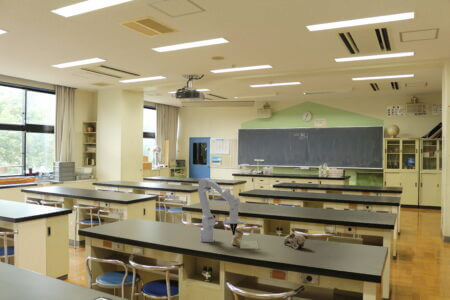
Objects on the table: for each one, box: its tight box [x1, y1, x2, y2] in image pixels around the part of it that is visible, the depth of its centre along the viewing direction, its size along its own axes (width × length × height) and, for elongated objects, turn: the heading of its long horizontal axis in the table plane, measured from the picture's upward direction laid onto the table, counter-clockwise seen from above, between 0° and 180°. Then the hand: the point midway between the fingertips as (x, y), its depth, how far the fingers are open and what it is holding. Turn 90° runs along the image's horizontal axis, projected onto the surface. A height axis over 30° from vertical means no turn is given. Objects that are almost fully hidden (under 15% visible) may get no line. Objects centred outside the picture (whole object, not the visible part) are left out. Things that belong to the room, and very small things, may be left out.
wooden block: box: [231, 228, 244, 247], centre depth 235 cm, size 5×8×9 cm, turn 0°
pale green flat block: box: [239, 239, 260, 250], centre depth 235 cm, size 13×20×2 cm, turn 0°
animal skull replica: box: [283, 232, 307, 250], centre depth 231 cm, size 8×17×10 cm, turn 40°
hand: (233, 234), depth 235 cm, fingers closed
